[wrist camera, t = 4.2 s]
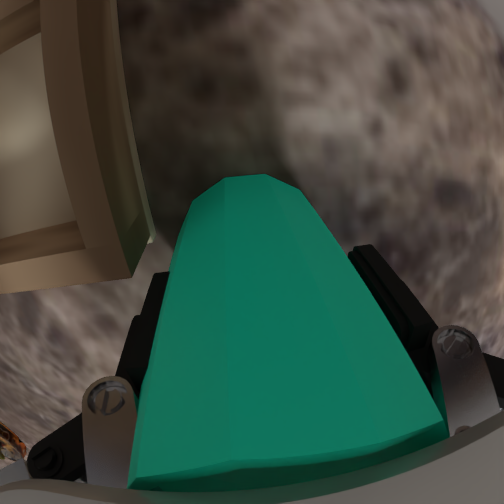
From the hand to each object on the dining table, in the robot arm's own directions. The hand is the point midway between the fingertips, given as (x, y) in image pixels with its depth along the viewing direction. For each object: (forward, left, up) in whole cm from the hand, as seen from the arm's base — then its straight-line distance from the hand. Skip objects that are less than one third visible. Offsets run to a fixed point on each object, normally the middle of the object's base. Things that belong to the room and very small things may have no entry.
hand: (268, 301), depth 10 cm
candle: (0, 0, -4) cm, 4 cm away
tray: (-7, -12, -4) cm, 14 cm away
